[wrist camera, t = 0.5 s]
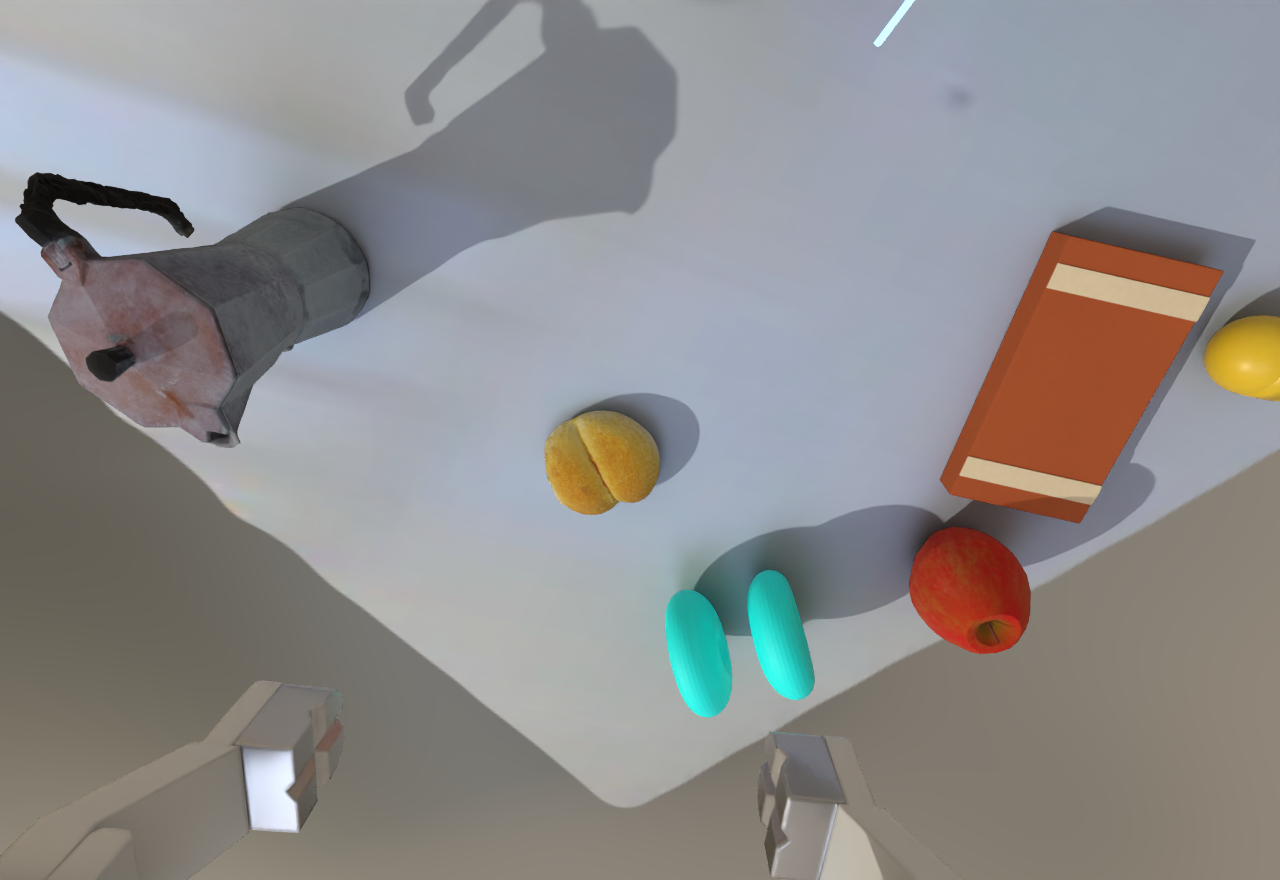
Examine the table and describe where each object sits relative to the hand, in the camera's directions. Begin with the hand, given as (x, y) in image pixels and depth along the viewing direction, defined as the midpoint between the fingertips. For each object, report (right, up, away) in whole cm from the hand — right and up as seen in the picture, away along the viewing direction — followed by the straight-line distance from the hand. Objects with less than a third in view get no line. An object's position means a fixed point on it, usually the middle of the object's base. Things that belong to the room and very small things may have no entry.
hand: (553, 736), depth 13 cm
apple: (+27, -3, +42) cm, 50 cm away
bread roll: (-1, +4, +41) cm, 41 cm away
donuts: (+10, -8, +46) cm, 47 cm away
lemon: (+43, +12, +33) cm, 56 cm away
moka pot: (-23, +18, +36) cm, 47 cm away
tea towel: (+32, +10, +35) cm, 48 cm away
